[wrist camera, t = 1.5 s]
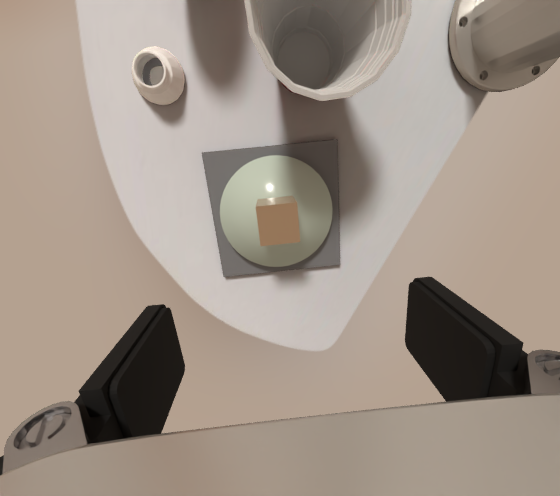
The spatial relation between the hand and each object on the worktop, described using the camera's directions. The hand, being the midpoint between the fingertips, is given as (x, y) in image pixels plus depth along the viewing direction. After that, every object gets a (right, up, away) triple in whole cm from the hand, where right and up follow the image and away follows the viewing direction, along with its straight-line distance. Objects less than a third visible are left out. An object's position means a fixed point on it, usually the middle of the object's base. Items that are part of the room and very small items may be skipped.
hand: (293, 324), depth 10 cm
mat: (-1, +7, +22) cm, 23 cm away
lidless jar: (-13, +21, +17) cm, 30 cm away
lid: (-1, +7, +21) cm, 23 cm away
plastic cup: (+2, +22, +17) cm, 28 cm away
